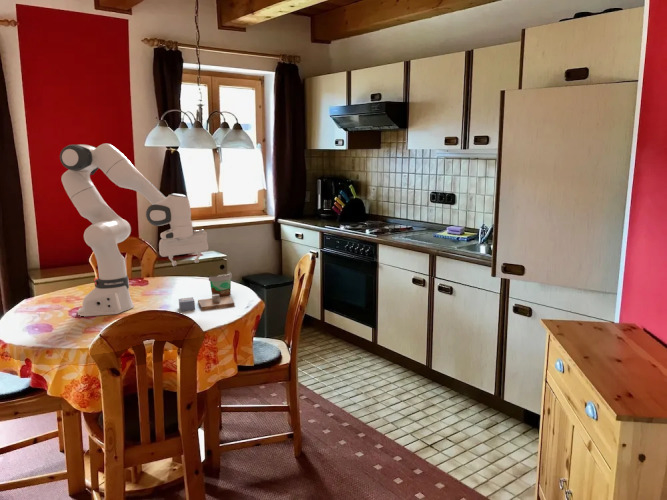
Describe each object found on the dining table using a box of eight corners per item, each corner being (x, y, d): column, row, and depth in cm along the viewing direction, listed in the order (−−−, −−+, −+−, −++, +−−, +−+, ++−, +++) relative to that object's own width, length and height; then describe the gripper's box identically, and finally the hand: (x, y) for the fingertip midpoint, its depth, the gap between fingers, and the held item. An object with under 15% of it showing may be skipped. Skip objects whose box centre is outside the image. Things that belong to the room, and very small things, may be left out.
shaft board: (201, 310, 229) (201, 300, 228) (198, 303, 240) (197, 293, 239) (234, 306, 234) (234, 296, 233) (229, 299, 245) (228, 289, 244)
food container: (218, 299, 245) (217, 278, 243) (209, 297, 249) (208, 276, 247) (238, 293, 255) (237, 272, 253) (229, 291, 258) (228, 271, 256)
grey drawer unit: (180, 311, 228) (179, 302, 227) (179, 307, 233) (178, 298, 233) (195, 309, 230) (194, 300, 229) (193, 306, 236) (192, 296, 235)
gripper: (204, 228, 234) (208, 259, 237) (156, 234, 225) (160, 266, 228) (208, 229, 229) (211, 261, 231) (159, 235, 220) (163, 268, 222)
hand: (185, 264), depth 230 cm, fingers open, 8 cm apart
